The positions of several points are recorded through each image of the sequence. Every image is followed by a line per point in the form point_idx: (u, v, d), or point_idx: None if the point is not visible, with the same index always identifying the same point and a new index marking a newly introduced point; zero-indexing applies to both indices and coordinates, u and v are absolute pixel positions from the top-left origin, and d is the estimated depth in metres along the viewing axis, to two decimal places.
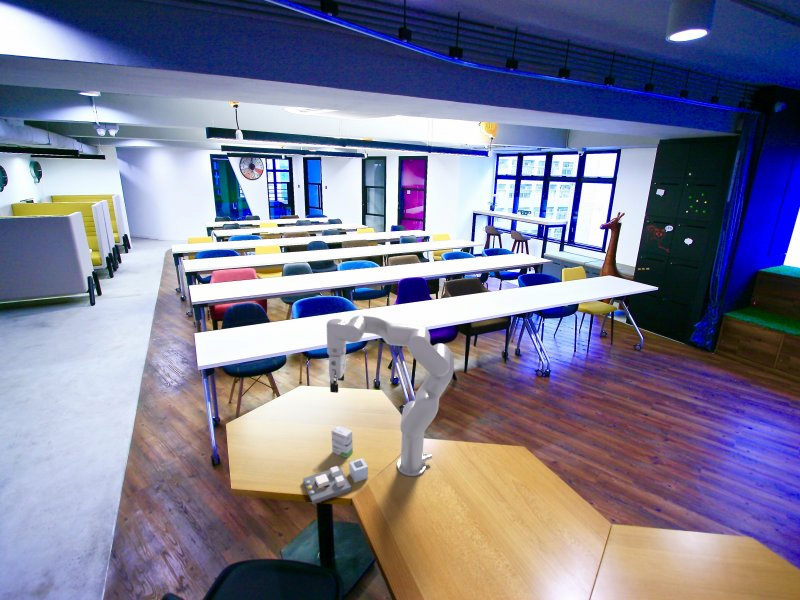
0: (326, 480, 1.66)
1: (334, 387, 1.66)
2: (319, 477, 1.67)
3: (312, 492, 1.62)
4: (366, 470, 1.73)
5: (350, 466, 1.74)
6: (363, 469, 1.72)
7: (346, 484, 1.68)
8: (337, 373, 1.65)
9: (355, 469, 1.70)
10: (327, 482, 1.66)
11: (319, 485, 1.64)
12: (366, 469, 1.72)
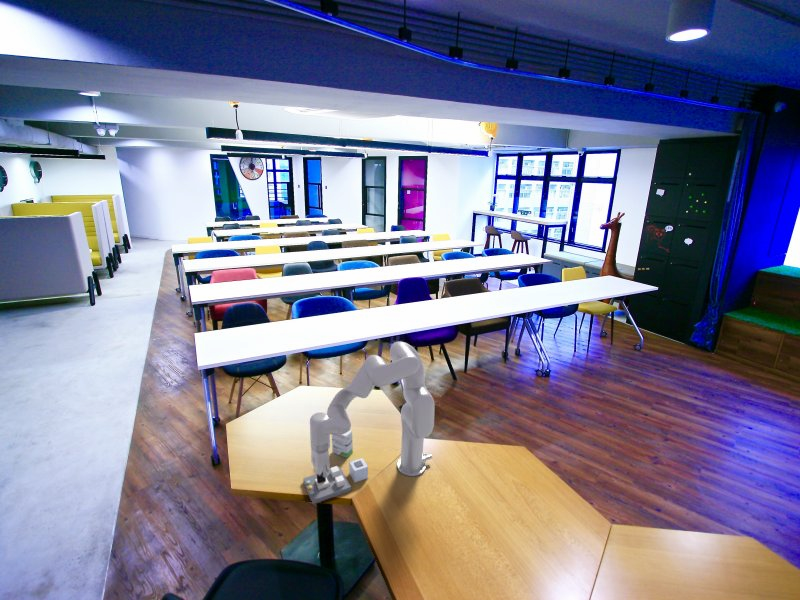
0: (326, 482, 1.66)
1: None
2: None
3: (312, 492, 1.62)
4: (366, 470, 1.73)
5: (350, 466, 1.74)
6: (363, 469, 1.72)
7: (346, 484, 1.68)
8: None
9: (355, 469, 1.70)
10: (327, 484, 1.66)
11: (319, 487, 1.65)
12: (366, 469, 1.72)
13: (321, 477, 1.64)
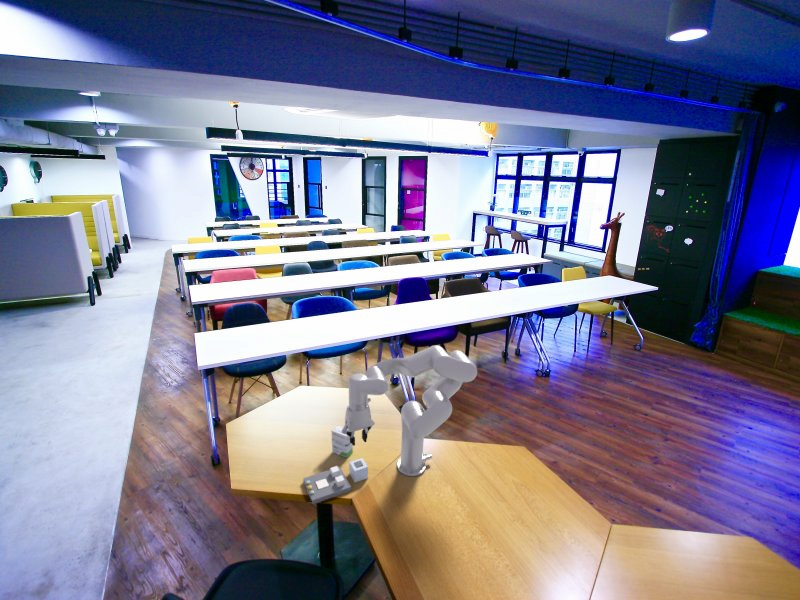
0: (326, 485, 1.67)
1: None
2: (319, 482, 1.68)
3: (312, 492, 1.62)
4: (366, 470, 1.73)
5: (350, 466, 1.74)
6: (363, 469, 1.72)
7: (346, 484, 1.68)
8: None
9: (355, 469, 1.70)
10: None
11: None
12: (366, 469, 1.72)
13: (350, 437, 1.67)
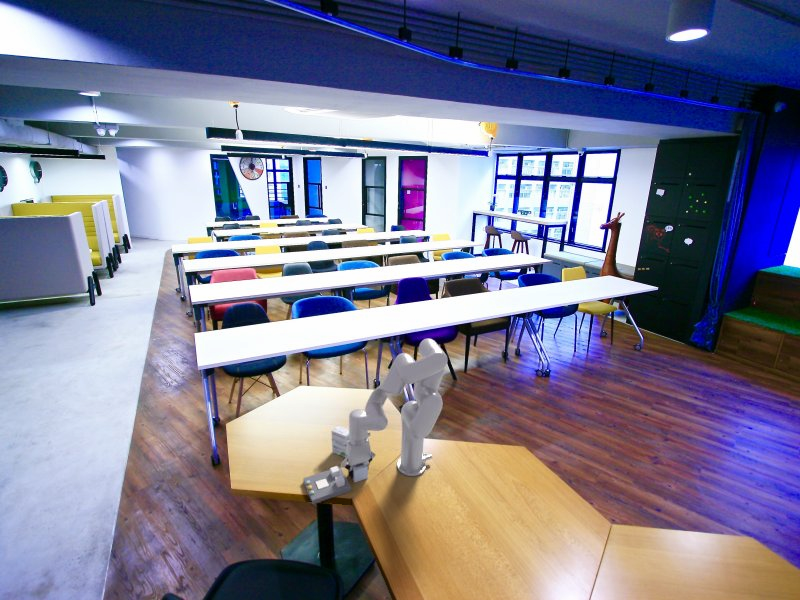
0: (326, 485, 1.67)
1: None
2: (319, 482, 1.68)
3: (312, 492, 1.62)
4: (366, 470, 1.72)
5: None
6: (363, 469, 1.72)
7: (346, 484, 1.68)
8: None
9: (355, 469, 1.70)
10: None
11: None
12: (366, 469, 1.72)
13: (348, 470, 1.72)
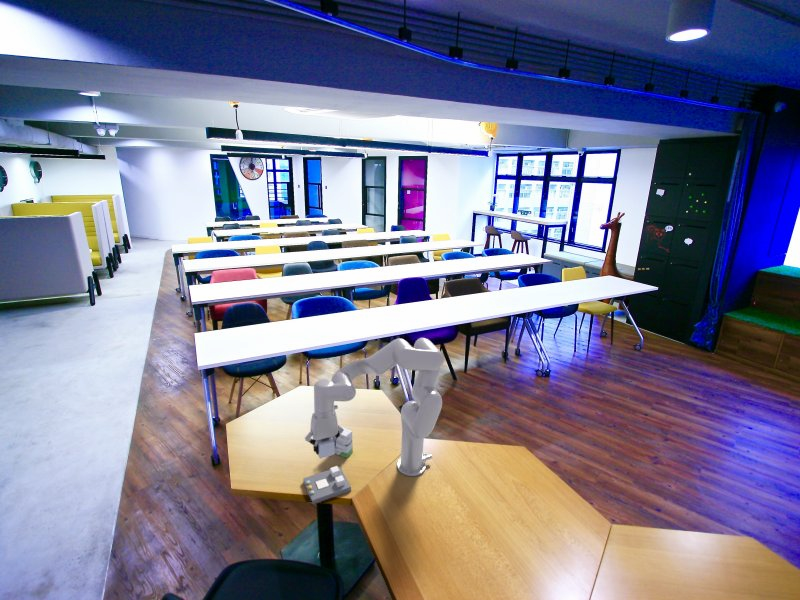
0: (326, 485, 1.67)
1: None
2: (319, 482, 1.68)
3: (312, 492, 1.62)
4: (332, 445, 1.61)
5: None
6: (329, 444, 1.60)
7: (346, 484, 1.68)
8: None
9: (320, 444, 1.59)
10: None
11: None
12: (332, 444, 1.60)
13: (313, 445, 1.60)
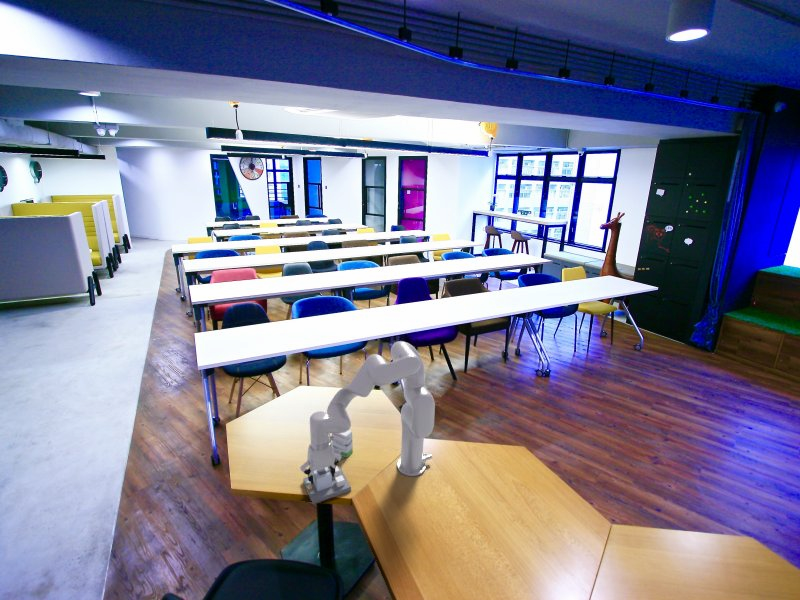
0: None
1: None
2: None
3: (312, 492, 1.62)
4: (330, 478, 1.65)
5: (313, 474, 1.66)
6: (326, 477, 1.64)
7: (346, 484, 1.68)
8: None
9: (318, 477, 1.63)
10: None
11: None
12: (330, 477, 1.65)
13: (308, 475, 1.63)
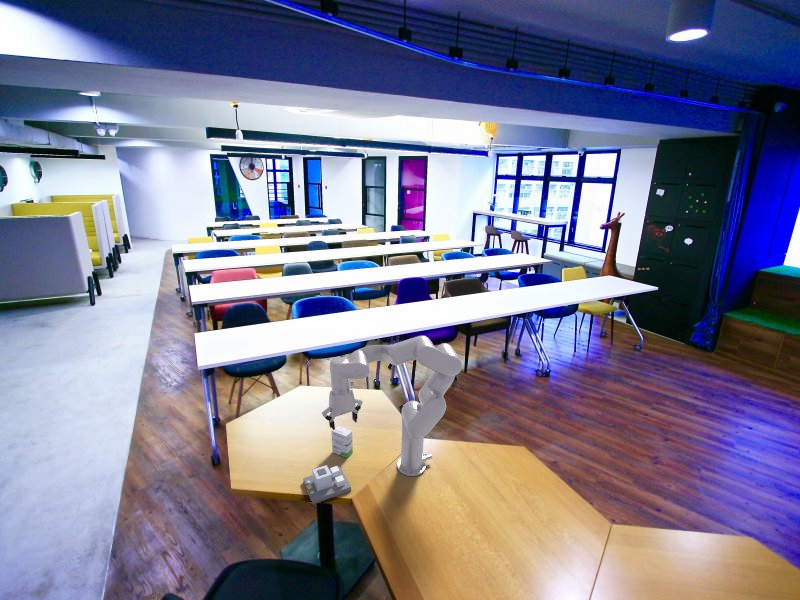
0: None
1: None
2: None
3: (312, 492, 1.62)
4: (330, 478, 1.65)
5: (313, 474, 1.66)
6: (326, 477, 1.64)
7: (346, 484, 1.68)
8: None
9: (318, 477, 1.63)
10: None
11: None
12: (330, 477, 1.65)
13: (329, 422, 1.65)
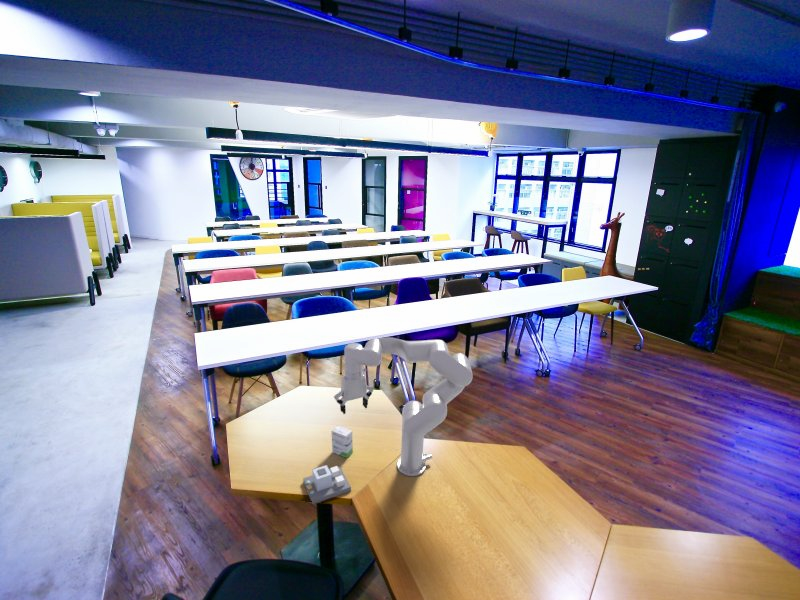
0: None
1: None
2: None
3: (312, 492, 1.62)
4: (330, 478, 1.65)
5: (313, 474, 1.66)
6: (326, 477, 1.64)
7: (346, 484, 1.68)
8: None
9: (318, 477, 1.63)
10: None
11: None
12: (330, 477, 1.65)
13: (340, 405, 1.69)
